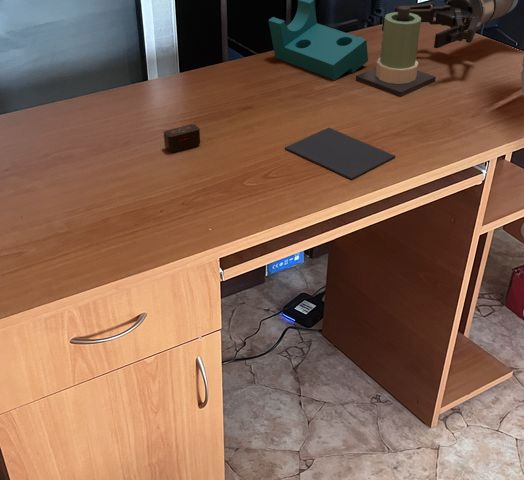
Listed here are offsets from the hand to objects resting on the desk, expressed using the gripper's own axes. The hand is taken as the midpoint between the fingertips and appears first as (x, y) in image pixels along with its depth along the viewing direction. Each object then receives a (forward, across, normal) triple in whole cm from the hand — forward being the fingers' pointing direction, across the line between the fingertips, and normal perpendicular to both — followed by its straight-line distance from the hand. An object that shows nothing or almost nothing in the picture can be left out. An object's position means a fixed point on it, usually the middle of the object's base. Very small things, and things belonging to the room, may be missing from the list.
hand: (409, 32), depth 163 cm
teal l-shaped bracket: (+8, +18, -10) cm, 22 cm away
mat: (+37, -14, -9) cm, 41 cm away
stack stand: (+3, 0, -9) cm, 10 cm away
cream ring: (+3, 0, -8) cm, 9 cm away
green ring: (+3, 0, -5) cm, 6 cm away
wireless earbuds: (+55, +8, -10) cm, 56 cm away
